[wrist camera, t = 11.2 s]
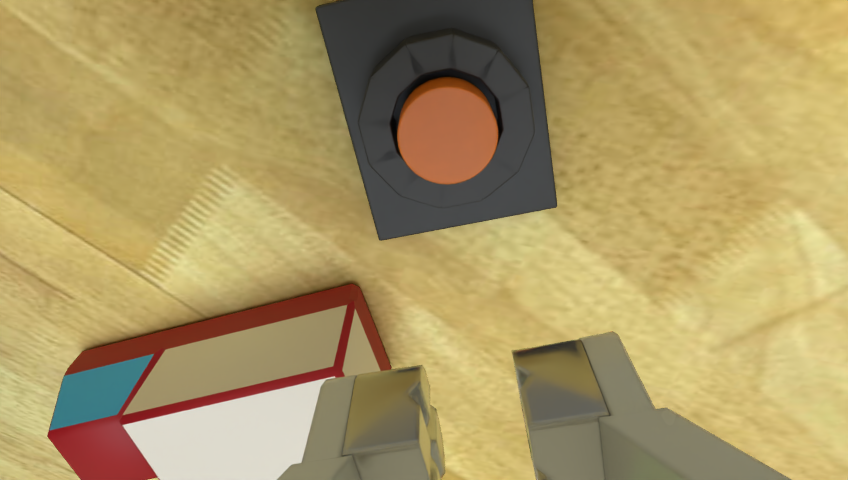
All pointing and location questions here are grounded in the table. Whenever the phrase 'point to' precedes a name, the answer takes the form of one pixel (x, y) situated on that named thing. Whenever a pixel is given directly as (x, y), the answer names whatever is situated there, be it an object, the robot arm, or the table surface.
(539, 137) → the box
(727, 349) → the table surface
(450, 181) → the button
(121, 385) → the toy truck
